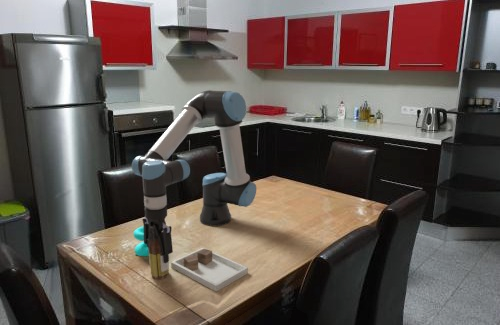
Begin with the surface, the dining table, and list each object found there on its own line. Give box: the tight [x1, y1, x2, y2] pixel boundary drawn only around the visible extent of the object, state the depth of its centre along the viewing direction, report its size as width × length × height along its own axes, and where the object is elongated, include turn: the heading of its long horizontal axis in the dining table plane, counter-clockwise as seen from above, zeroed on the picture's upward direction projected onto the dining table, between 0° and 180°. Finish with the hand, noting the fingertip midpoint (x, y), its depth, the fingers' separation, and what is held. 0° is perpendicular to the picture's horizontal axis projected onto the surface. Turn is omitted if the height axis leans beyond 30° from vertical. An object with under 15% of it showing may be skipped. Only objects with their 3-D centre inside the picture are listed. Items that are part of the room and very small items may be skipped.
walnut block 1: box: [184, 255, 198, 271], centre depth 144 cm, size 4×4×4 cm
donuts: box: [133, 225, 149, 257], centre depth 157 cm, size 10×10×10 cm
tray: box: [170, 246, 249, 293], centre depth 143 cm, size 24×16×3 cm, turn 49°
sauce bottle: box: [148, 226, 170, 280], centre depth 138 cm, size 7×6×20 cm
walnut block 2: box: [197, 248, 213, 265], centre depth 149 cm, size 4×4×4 cm
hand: (159, 266), depth 139 cm, fingers closed on sauce bottle, 6 cm apart
